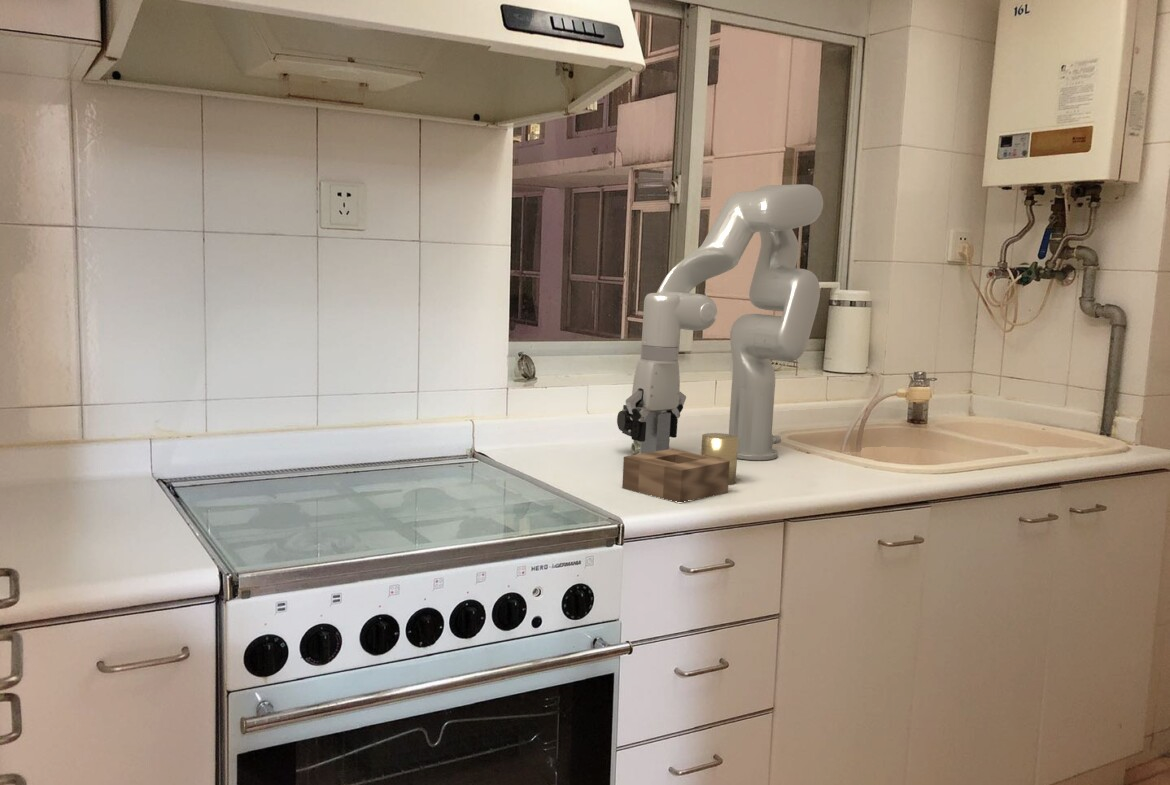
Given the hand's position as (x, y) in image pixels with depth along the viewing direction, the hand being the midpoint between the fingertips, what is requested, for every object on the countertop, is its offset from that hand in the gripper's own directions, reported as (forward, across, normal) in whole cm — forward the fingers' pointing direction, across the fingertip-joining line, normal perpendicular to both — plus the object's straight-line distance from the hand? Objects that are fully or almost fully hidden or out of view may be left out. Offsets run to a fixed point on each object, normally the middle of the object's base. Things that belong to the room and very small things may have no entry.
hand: (654, 438), depth 200 cm
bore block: (+7, +10, +14) cm, 18 cm away
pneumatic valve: (+7, -10, -12) cm, 17 cm away
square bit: (+7, 0, 0) cm, 7 cm away
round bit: (+7, -4, +14) cm, 16 cm away
